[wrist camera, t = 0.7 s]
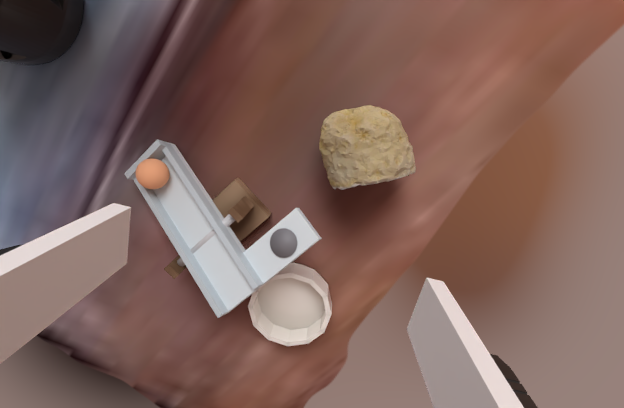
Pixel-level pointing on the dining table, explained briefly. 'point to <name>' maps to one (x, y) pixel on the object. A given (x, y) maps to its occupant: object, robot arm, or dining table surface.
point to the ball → (152, 173)
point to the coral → (364, 147)
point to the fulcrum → (234, 215)
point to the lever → (218, 235)
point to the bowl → (292, 306)
